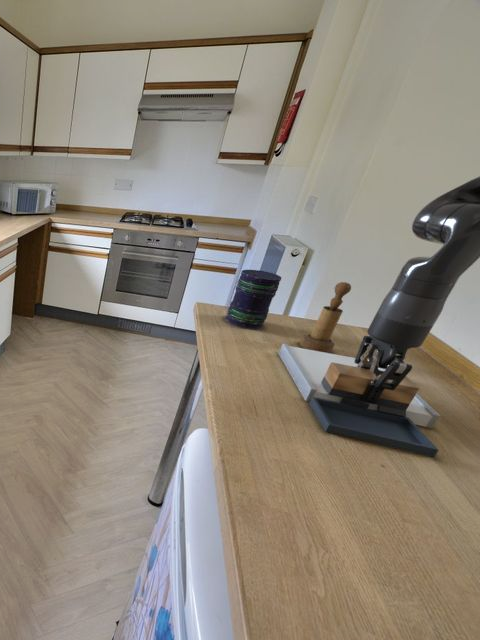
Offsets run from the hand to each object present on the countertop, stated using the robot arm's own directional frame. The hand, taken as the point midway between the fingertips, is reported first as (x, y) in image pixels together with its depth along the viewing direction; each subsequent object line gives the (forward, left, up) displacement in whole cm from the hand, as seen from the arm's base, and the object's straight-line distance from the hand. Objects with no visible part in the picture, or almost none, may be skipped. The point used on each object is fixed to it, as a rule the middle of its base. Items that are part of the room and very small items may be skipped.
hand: (361, 394), depth 81 cm
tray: (+1, +8, -3) cm, 8 cm away
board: (-1, -10, -3) cm, 11 cm away
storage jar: (+14, -42, -3) cm, 44 cm away
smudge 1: (+2, +3, -1) cm, 3 cm away
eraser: (0, 0, 0) cm, 0 cm away
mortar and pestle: (-1, -31, -3) cm, 31 cm away
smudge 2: (-4, +3, -1) cm, 5 cm away
